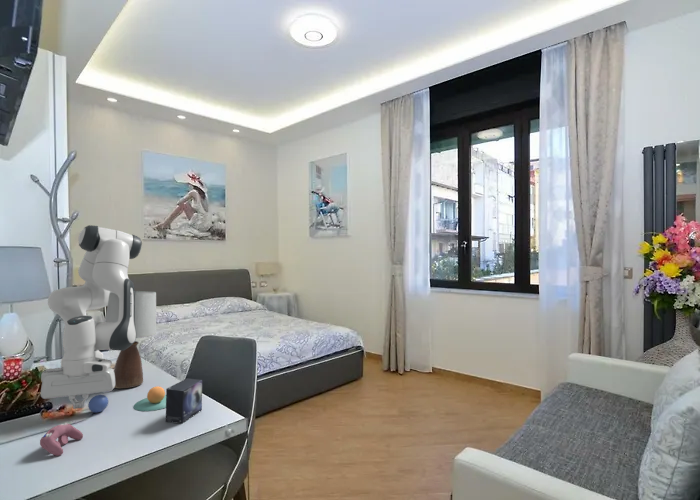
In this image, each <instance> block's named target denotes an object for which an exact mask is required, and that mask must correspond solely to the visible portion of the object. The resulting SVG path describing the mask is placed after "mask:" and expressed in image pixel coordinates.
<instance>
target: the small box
mask: <svg viewBox="0 0 700 500" xmlns="http://www.w3.org/2000/svg"><path fill="white" fill-rule="evenodd" d="M165 390H166V392H165V395H166V408H165V423H173V424H175V423H176V424H183V422H184V423H185V422H187V421H188V420H190V419H191V418H192V417H194V416H196V415H197V414H198V413H200V412H202V411H201V410H203V403H202V402H203V379H198V378H197V379H196V378H195V379H194V378H185V379H183V380H181V381H179V382H177V383H175V384H173V385H171V386H169V387H167V388H166V389H165ZM199 411H200V412H199ZM193 415H194V416H193ZM189 418H190V419H189ZM186 420H187V421H186Z"/></svg>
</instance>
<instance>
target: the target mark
mask: <svg viewBox="0 0 700 500" xmlns="http://www.w3.org/2000/svg"><path fill="white" fill-rule="evenodd" d="M133 409H134V410H136V411H140V412H153V411H159V410H160V411H161V410H163V409H166V394H165V396H164V398H163V400H162V401H160V402H159V403H151V402H149V400H148V398H147V397H146V398H142V399H140V400H138V401H137V402H136V403H134V405H133Z"/></svg>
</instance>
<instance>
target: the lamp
mask: <svg viewBox="0 0 700 500" xmlns="http://www.w3.org/2000/svg"><path fill="white" fill-rule="evenodd" d="M106 307H107V309H106V312H105V313H106V314H105V322H117V321H118V320H119V297H118V296H117V295H116V294H115V293H113V292H110V293H109V300H108V306H106ZM135 327H136V339H141V338H150V337H154V336H156V335H157V292H156V291H143V290H142V291H140V290H136V291H135ZM138 344H139V341H137V340H135V342H134V343H133V344H132V345H131V346H130V347H129V348H127V349H126V350H124V351H120V352H119V354H118V356H117V358H116V361H115V365H114V369H113V370H114V374H115V387H114V389H128V388H129V389H130V388H135V387H138V386H141V385H143V383H144V372H143V362H142V357H141V353H140V351H139V349H138Z"/></svg>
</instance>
